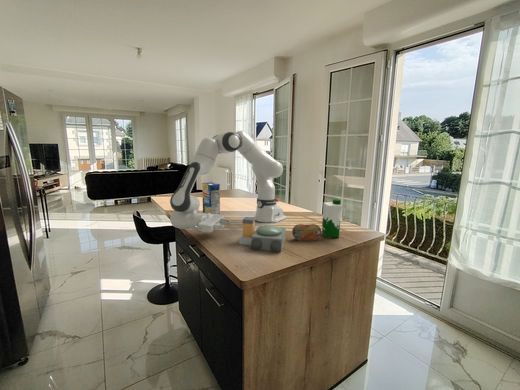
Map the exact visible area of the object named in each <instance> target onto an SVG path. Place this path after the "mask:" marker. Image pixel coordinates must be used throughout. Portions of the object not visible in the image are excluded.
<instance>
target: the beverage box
mask: <svg viewBox="0 0 520 390" xmlns="http://www.w3.org/2000/svg"><path fill="white" fill-rule="evenodd" d="M201 184H202V187H201V188H202V213H206V212H210V214H220V215H221V184H219V183H216V182H211V181H210V182H202V183H201Z"/></svg>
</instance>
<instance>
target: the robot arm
mask: <svg viewBox="0 0 520 390" xmlns="http://www.w3.org/2000/svg"><path fill="white" fill-rule="evenodd" d="M236 151H237V152H238V153H239V154H240V155H241V156H242V157H243V158H244V159H245V160H246V161H247V162H248V163H249V164H251V165H252V166H251V169H252V172H253V173H254V175H255V176H254V177H255V179H256V184H257V198H256V210H255V215H254V217H255V222H256V221H257V222H260V223H275V224H276V223H278V222H281V221H284V220H286V219H287V218H288V217H287V216H286V215H284V210H283V207H281V206H279V205H278V204H277V202H280V198H275V197H276V194H275V193H276V186H275V184H274V182H273V180H272V179H276V178H277V179H278V178H279V177H281V176H282V174H283V173H284V172H283V171H284V168H283V167H284V166H283V164H282V163H281V162H279V161H277V160H276V159H275V158H273V157H272V156H271V155H269V154H268V152H266V151H264V150H263V149H262V147H260V146H259V144H258V143H256V141H255V140H254V139H253V138H252V137H251V136H250V135H248V134H247V133H246V132H245V131H243V130H237V131H236V132H233V131H228V132H222V133H219V134H216V135H214V136H213V137H204V138H203V139H202V140H201V142H200V143H199V145H198V147H197V149H196V151H195V153H194V157H193V159H192V161H191V163H190V164H189V165H188V167H187V168H186V170H185V172H184V174H183V176H182V179H181V181H180V183H179V185H178V187H177V189H176V190H175V191H174V193H172V195H171V196H170V199H169V204H170V208H171V209H172V210H173V212H172V213H171V214H170V217H169V218H170V219H169V220H170V221H169V222H170V224H171V225H172V226H173V227H174V228H177V229H181V230H193V231H199V232H202V233H212V232H213V231H215V230H223V229H225V224H231V219H227V218H225V215H223V214H221V213H220V214H210V212H206V213H203V212H199V209H200V205H201V204H200V203H201V202H200V200H199V198H198V197H197V196H195V195H192V194H191V192H192V190H193V188H194V186H195V183H196V181H197V179H198V178H199V177H201V176H202V175H207V174H209V173H210V172H211V171H212V169H213V168H214V165H215V163H216V160H217V156H218V155H219V154H228V153H233V152H236ZM224 223H225V224H224Z"/></svg>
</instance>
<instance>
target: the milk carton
mask: <svg viewBox="0 0 520 390" xmlns="http://www.w3.org/2000/svg"><path fill="white" fill-rule="evenodd" d="M341 202H342V201H341V199H337V198H335V199H332V202H331V201H328V202H326V201H325V202H323V204H322V205H323V206H322V207H323V210H322V224H321V231H322V233H321V235H322V236H323V237H325V238H326V237H339V238H340V229H341V219H342V218H341V217H342V210H343V205H342V203H341Z"/></svg>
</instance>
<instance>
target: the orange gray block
mask: <svg viewBox="0 0 520 390" xmlns="http://www.w3.org/2000/svg"><path fill="white" fill-rule="evenodd" d="M255 226H256V220H255V216H254V217H252V216H245V217H243V218H242V237H250V238H251V237H252V235H253V234H254V232H255V231H256V228H255Z"/></svg>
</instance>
